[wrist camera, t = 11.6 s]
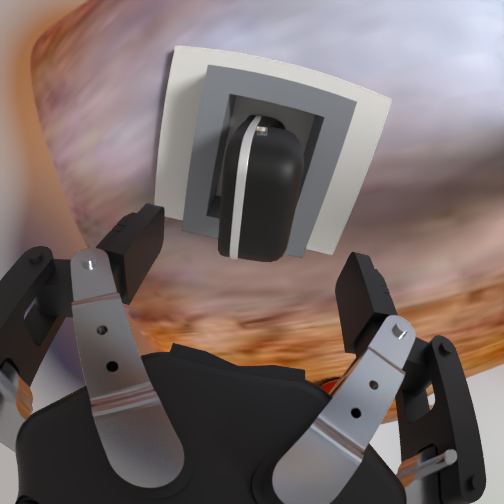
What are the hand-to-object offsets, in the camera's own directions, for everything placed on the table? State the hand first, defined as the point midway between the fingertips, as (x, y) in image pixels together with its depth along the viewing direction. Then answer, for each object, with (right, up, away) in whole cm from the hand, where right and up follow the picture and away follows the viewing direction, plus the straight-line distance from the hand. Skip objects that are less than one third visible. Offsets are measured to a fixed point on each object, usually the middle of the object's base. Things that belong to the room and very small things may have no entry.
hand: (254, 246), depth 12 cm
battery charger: (+1, +8, +11) cm, 14 cm away
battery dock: (+1, +8, +12) cm, 14 cm away
